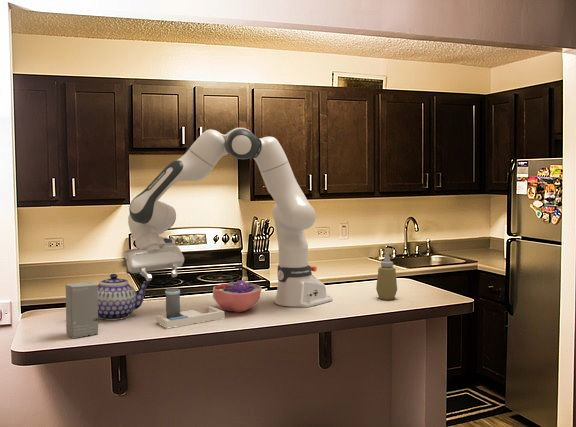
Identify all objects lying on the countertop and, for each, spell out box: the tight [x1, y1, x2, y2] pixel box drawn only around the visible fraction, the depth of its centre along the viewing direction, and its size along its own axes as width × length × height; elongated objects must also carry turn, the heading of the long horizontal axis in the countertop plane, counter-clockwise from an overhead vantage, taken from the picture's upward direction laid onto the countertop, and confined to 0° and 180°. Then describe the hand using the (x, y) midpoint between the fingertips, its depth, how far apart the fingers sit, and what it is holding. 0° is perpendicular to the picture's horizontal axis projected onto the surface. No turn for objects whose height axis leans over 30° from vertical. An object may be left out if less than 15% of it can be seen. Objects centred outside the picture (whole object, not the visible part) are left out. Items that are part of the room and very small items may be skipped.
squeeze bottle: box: [375, 252, 398, 301], centre depth 230 cm, size 8×8×18 cm
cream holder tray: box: [155, 306, 226, 329], centre depth 199 cm, size 21×8×3 cm, turn 125°
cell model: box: [212, 279, 263, 313], centre depth 213 cm, size 17×20×11 cm
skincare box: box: [64, 282, 99, 339], centre depth 184 cm, size 8×7×16 cm
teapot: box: [97, 273, 151, 321], centre depth 205 cm, size 25×15×15 cm, turn 112°
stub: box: [164, 287, 181, 319], centre depth 196 cm, size 5×5×11 cm
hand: (162, 278), depth 207 cm, fingers open, 8 cm apart
